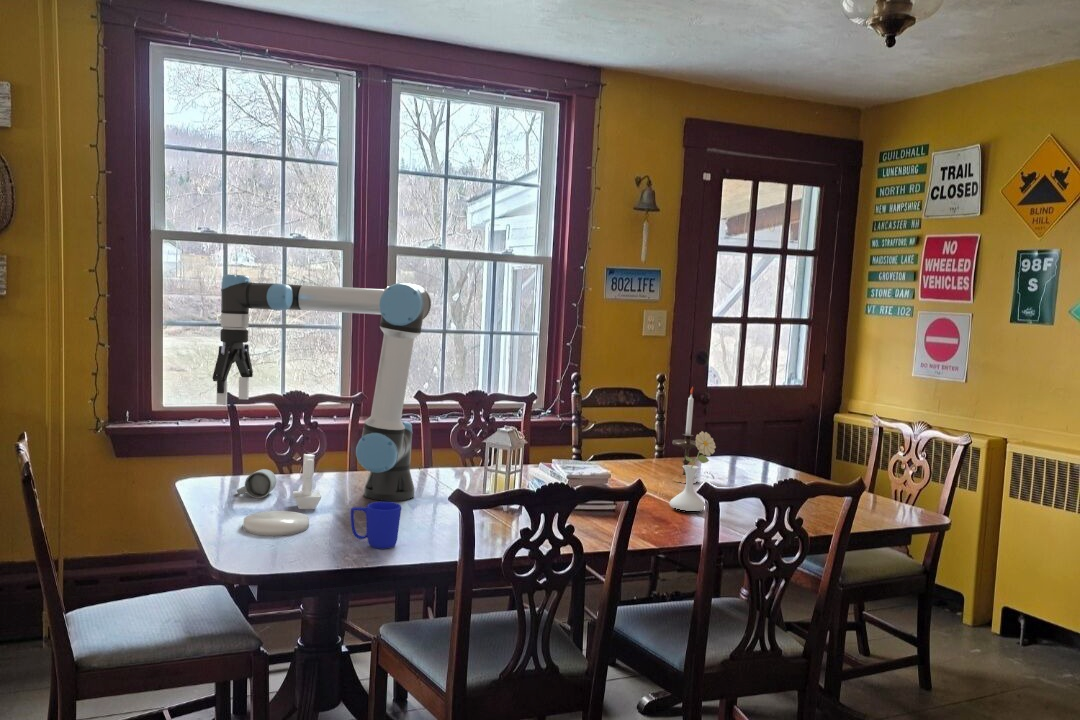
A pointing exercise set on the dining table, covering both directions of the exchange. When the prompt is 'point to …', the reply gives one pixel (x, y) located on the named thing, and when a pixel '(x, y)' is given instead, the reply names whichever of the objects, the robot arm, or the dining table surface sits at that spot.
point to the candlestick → (687, 433)
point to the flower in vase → (688, 496)
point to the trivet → (276, 523)
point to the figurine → (307, 486)
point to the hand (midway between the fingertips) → (232, 402)
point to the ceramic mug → (259, 484)
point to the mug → (380, 523)
